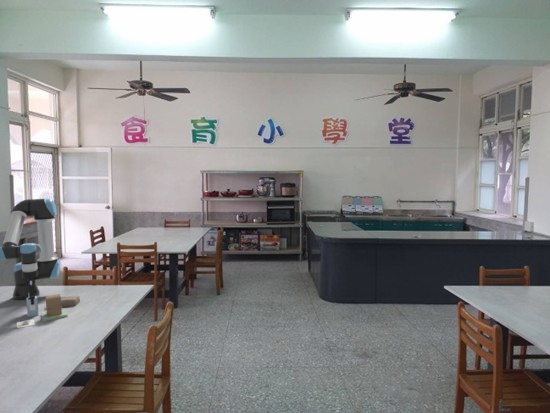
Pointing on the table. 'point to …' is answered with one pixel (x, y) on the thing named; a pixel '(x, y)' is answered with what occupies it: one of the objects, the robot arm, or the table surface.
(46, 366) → the table surface
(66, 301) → the brick
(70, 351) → the table surface
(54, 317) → the pad
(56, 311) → the walnut block
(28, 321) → the page
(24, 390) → the table surface
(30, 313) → the bluegrey block
